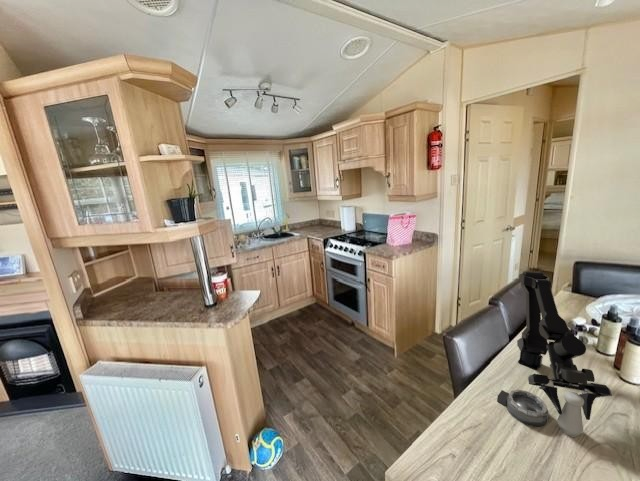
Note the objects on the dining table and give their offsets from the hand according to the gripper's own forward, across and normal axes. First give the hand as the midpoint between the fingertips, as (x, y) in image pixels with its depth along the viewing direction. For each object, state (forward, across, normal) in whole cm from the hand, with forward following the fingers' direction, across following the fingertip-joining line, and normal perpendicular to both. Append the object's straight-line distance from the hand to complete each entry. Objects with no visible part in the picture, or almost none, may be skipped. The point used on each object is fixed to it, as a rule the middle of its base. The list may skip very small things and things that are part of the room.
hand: (574, 417), depth 79 cm
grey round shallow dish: (0, -11, +9) cm, 14 cm away
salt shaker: (+4, 0, +6) cm, 7 cm away
